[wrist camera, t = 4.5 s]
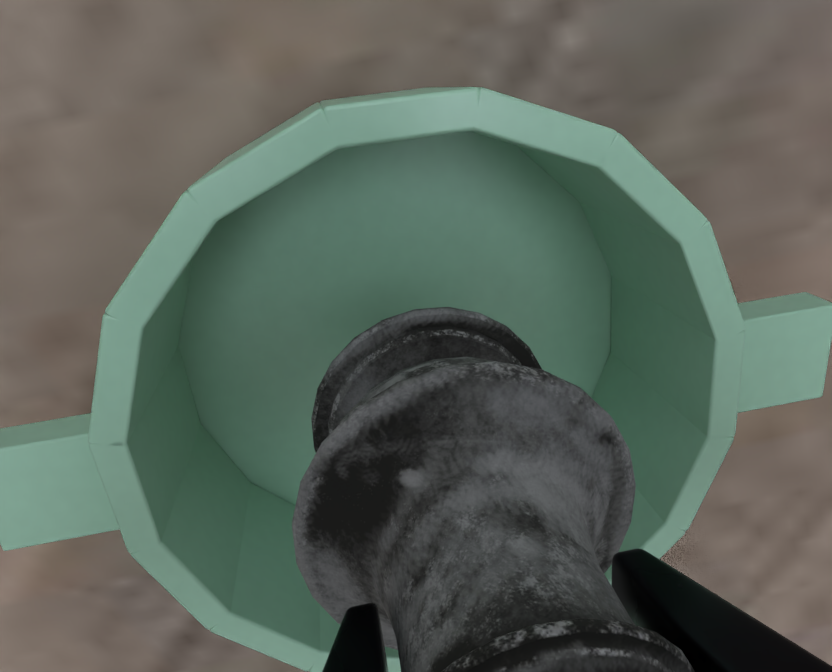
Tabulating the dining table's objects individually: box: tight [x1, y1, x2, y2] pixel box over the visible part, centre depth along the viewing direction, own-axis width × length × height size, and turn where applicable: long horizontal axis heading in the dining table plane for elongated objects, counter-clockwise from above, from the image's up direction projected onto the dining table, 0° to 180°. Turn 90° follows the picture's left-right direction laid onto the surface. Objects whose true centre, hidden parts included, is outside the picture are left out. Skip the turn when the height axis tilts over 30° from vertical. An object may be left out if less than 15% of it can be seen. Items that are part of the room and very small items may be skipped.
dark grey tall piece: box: [292, 307, 695, 672], centre depth 8 cm, size 6×6×12 cm
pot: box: [0, 87, 832, 672], centre depth 15 cm, size 13×19×5 cm
